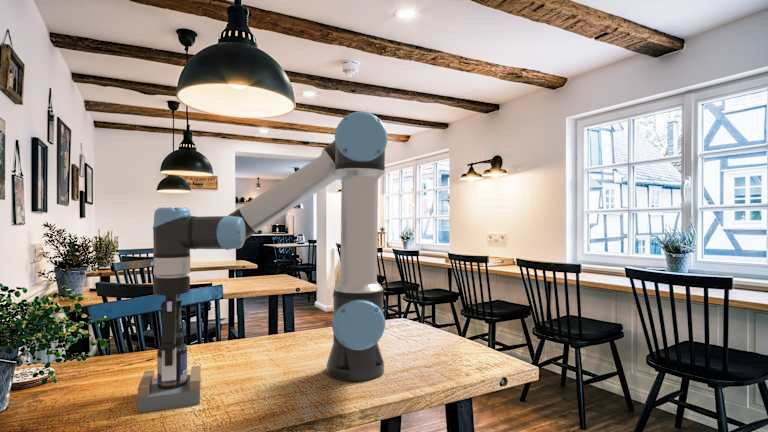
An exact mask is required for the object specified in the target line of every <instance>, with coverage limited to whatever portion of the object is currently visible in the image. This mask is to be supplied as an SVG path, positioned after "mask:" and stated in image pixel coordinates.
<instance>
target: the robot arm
mask: <svg viewBox="0 0 768 432" xmlns="http://www.w3.org/2000/svg"><path fill="white" fill-rule="evenodd" d="M388 141H389V140H388V133H387V129H386V126H385V124H384V123H383V121H382V120H381V119H380V118H378V116H377V115H374V114H373V113H371V112H368V111H367V112H366V111H354V112H352V113H349V114H347V115H346V116H345V117H343V118H342V119H341V120H340V122H339V123H338V125H337V126H336V129H335V132H334V140H333V141H332V142H331V143H330V144H328V145H326V147H324V148H323V149H322V150H321V153H320V155H319V156H318V157H316V158H314V159H313V160H311V161H310V162H309V163H307V164H305V165H303V166H302V167H300V168H299V169H297V170H296V171H294V172H293V173H291V174H290V175H288V176H286V177H285V178H284V179H282V180H280V181H279V182H278V183H276V184H274V185H273V186H271V187H270V188H268V189H267V190H265V191H264V192H262V193H260V194H259V195H257V196H256V197H253V199H251V200H249V201H248V202H247V203H245V204H244V205H242V206H241V207H239V208H238V209H236V210H234V211H232V212H231V213H230V214H228V215H225V216H223V215H221V216H219V215H218V216H215V215H214V216H210V215H209V216H207V215H206V216H197V215H196V216H194V215H192V214H191V210H190V208H188V207H158V208H156V210H155V211H154V214H153V226H152V231H153V233H152V234H153V235H152V236H153V237H152V238H153V239H152V240H153V257H152V258H153V261H150V264H149V265H150V266H151V267H153V275H154V276H156V277H154V278H153V279H152V284H153V286H152V294H154V295H156V296H164V297H165V298H164V300H163V301H162V302H161V303H160V304H161V306H160V308H161V309H160V310H161V321H162V324H161V326H162V327H161V330H162V331H161V336H162V343H161V344H160V346H157V347H158V348H157V351H162V381H170V380H176V345H175V343H176V333H181V334H183V333H184V327H181V313H182V305H183V304H182V301H183V299H182V300H181V299H180V297H181V295H184V294H188V293H189V292H190V291H191V278H190V276H189V274H191V250H226V251H228V250H235V249H237V250H238V249H241V248H243V246H244V244H245V241H246V240H247V239H248V238H250V237H251V236H253V235H254V234H255V233H257V232H259V231H260V230H262V229H264V227H266V226H268V225H269V224H271V223H272V222H274V221H275V220H277V219H279V218H280V217H282V216H283V215H285V214H286V213H288V212H289V211H292V210H293V209H294V208H295V207H296V206H298V205H300V204H302V203H303V202H304V201H306V200H308V199H309V198H311V197H313V195H315V194H317V193H318V192H320V191H321V190H323V189H324V188H326V187H328V186H329V185H330V184H332V183H334V182H335V181H337V180H338V181H339V180H340V181H341V199H340V200H341V201H340V204H341V206H340V208H341V209H340V211H341V212H340V265H339V268H340V277H339V282H338V283H337V284H336V285H335V286H334V287H333V292H332V299H333V302H332V303H333V305H332V306H333V308H332V312H333V313H332V322H331V323H332V324H331V327H332V329H331V330H332V331H333V332H332V333H333V341H332V342H333V343H332V346H331V350H330V353H329V356H328V359H327V363H326V375H328V377H331V378H332V379H334V380H339V381H346V382H361V381H369V380H373V379H376V378H378V377H381V376H382V375H383V374H384V373H385V362H384V358H383V355H382V352H381V350H380V346H379V341H380V340H381V338H383V337H382V336H383V334H384V331H385V329H386V319H385V315H384V288H383V287H382V285H381V284H380V283H379V282H378V219H379V218H378V215H379V214H378V213H379V211H378V208H379V207H378V206H379V205H378V204H379V202H378V200H379V197H378V196H379V179H380V178H381V177H382V176H383V175H384V174H385V169H386V168H385V167H386V164H385V162H386V159H385V157H386V148H387V144H388Z"/></svg>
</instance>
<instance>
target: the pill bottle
mask: <svg viewBox="0 0 768 432" xmlns="http://www.w3.org/2000/svg"><path fill="white" fill-rule="evenodd" d="M184 336H185V335H184V334H183V333H176V343H175V345H176V380H170V381H162V351H158V350H157V353H156V354H157V361H156V362H157V364H156V365H157V367H156V368H157V370H156V371H157V373H156V374H157V375H156V376H157V377H156V378H157V385H158V387H160V388H162V389H172V388H176V387H180V386H182V385H184V384H185V383H186V382H187V375H188V346H187V345H186V344H185V343H184V340H185V337H184ZM160 344H162V335H161V336H160Z"/></svg>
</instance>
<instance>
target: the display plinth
mask: <svg viewBox="0 0 768 432" xmlns="http://www.w3.org/2000/svg"><path fill="white" fill-rule="evenodd" d="M201 369H202V367H201V365H192V366H191V368H190V374H187V382H186V383H185V384H184V385H182V386H180V387H176V388H172V389H162V388H160V387H158V385H157V377H156V378H155V370H149V371H144V372H143V375H142V377H141V379H140V381H139V385H138V386H137V398H136V400H137V402H136V403H137V405H136V406H137V407H136V410H137V411H136V413H138V414H140V413H145V412H152V411H161V410H167V409H175V408H182V407H190V406H196V405H200V404H201V402H200V401H201V383H202V382H201V381H202V379H201V377H202V376H201Z"/></svg>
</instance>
